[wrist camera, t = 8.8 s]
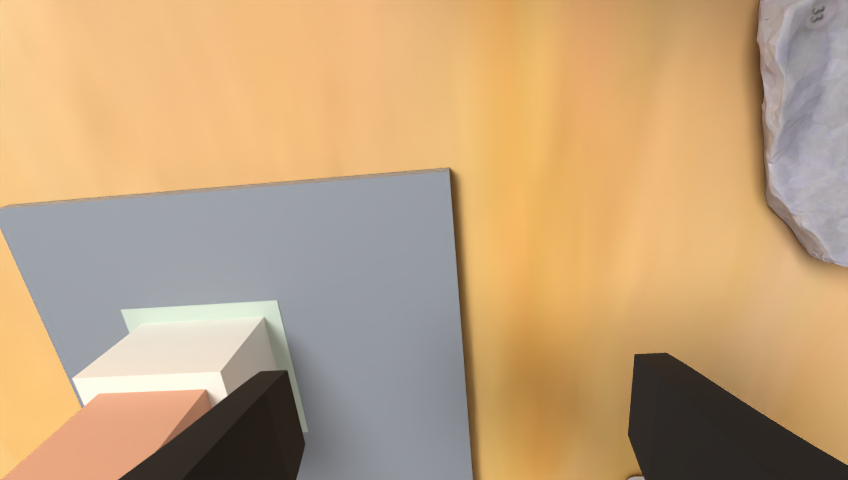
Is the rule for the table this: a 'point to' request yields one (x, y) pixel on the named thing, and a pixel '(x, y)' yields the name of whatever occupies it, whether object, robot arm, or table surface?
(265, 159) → the table surface
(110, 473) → the orange cube
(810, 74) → the stone block
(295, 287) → the board
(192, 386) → the cream base block
